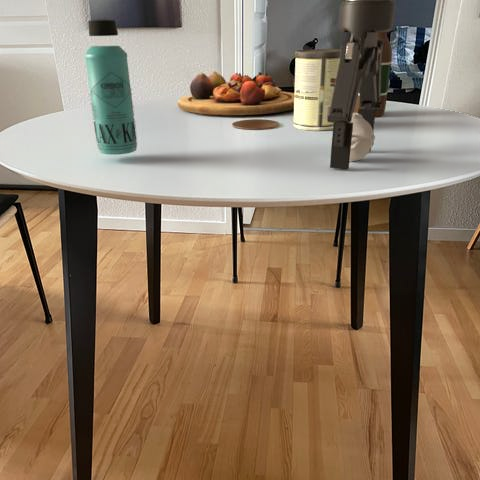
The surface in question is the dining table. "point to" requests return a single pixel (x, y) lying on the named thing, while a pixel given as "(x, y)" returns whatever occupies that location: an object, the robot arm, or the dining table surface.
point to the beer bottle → (384, 74)
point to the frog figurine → (360, 137)
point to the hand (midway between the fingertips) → (351, 158)
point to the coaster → (255, 124)
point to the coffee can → (314, 88)
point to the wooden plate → (235, 95)
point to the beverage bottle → (110, 92)
